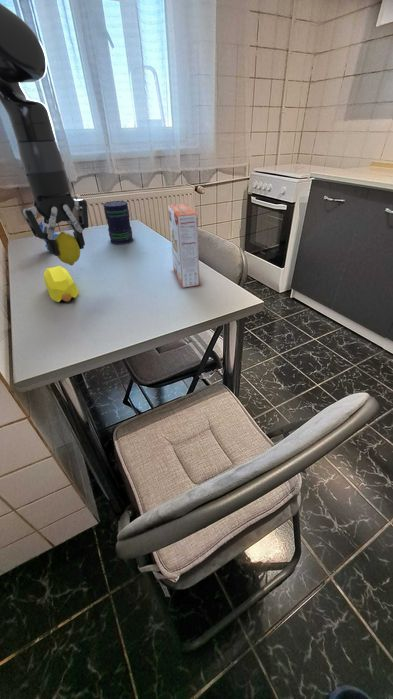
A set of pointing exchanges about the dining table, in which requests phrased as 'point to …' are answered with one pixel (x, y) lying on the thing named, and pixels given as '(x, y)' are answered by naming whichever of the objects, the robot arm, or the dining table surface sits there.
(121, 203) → the storage jar
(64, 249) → the lemon
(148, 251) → the dining table surface
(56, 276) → the yellow faceted capsule
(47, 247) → the grapes
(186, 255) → the cracker box
